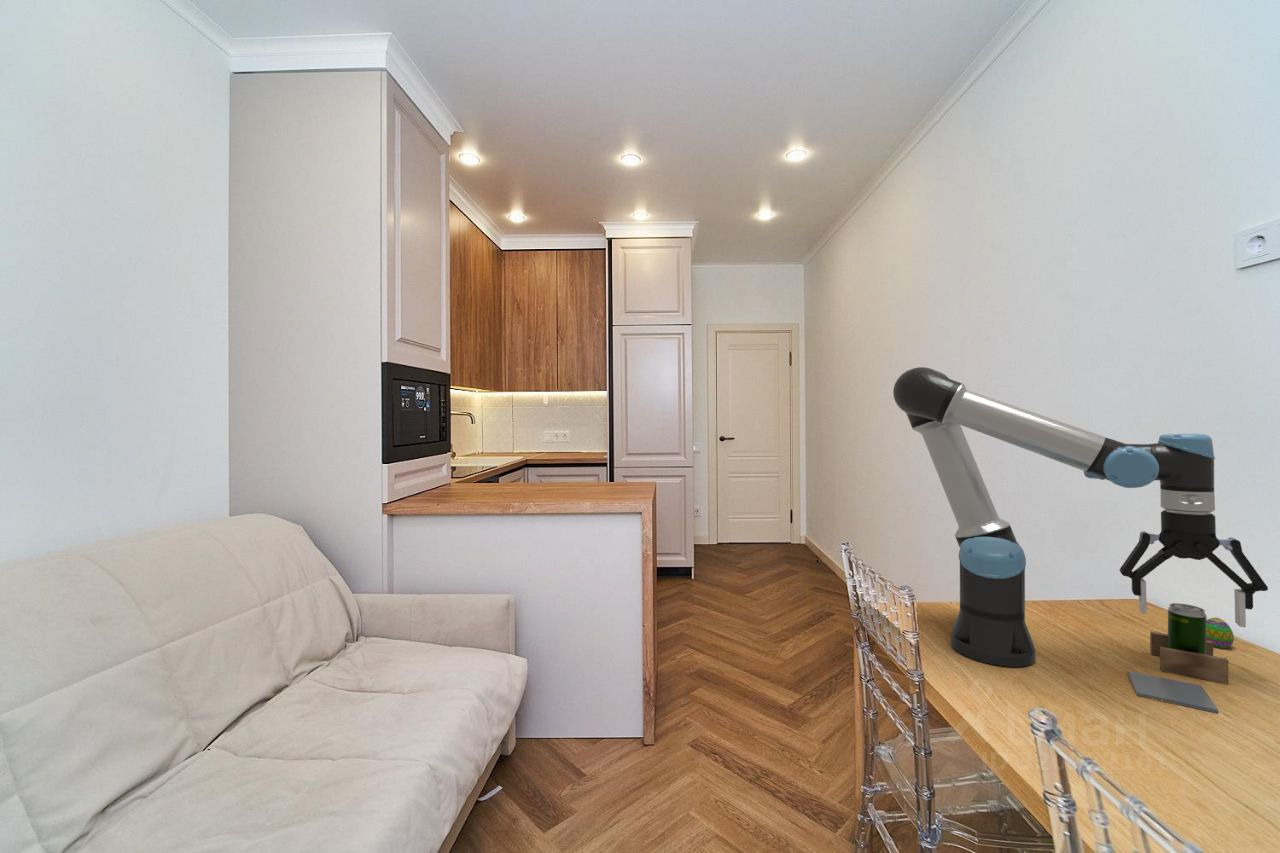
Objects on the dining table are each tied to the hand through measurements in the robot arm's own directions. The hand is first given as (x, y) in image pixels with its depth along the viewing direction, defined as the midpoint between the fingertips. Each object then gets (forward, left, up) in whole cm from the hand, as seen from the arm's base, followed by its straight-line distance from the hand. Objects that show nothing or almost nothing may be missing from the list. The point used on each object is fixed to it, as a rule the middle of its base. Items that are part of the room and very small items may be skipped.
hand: (1189, 618), depth 104 cm
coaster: (-5, -15, -10) cm, 19 cm away
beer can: (0, 0, -10) cm, 10 cm away
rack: (0, 0, -10) cm, 10 cm away
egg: (+8, +18, -10) cm, 22 cm away
